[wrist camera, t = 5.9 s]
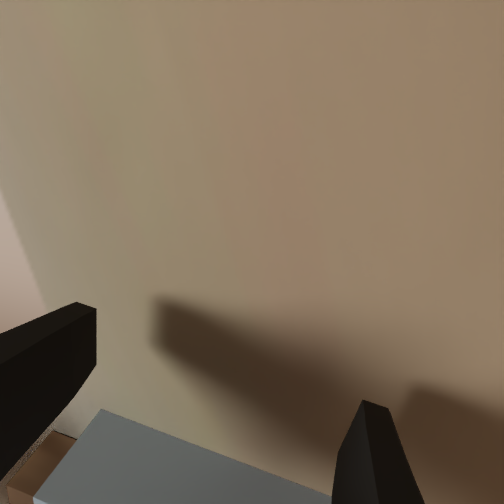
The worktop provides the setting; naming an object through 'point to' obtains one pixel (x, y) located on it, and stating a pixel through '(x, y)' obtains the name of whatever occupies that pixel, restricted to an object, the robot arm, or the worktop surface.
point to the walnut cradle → (38, 468)
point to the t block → (159, 472)
